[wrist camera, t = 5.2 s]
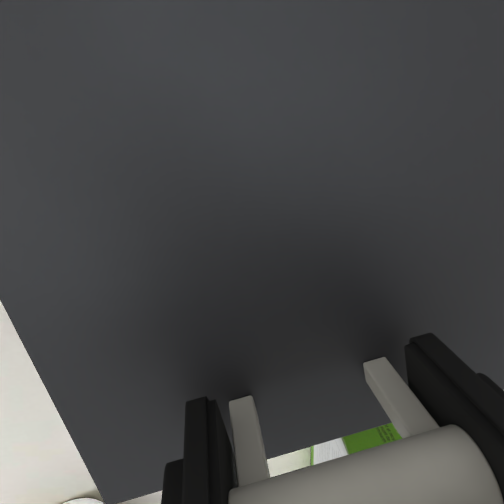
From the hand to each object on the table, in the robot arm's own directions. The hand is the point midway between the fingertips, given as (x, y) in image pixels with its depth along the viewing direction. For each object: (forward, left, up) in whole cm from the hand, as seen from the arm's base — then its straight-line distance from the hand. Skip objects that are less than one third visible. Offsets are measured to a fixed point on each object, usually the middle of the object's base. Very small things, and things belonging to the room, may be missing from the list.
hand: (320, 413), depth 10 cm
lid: (-6, 0, -2) cm, 6 cm away
